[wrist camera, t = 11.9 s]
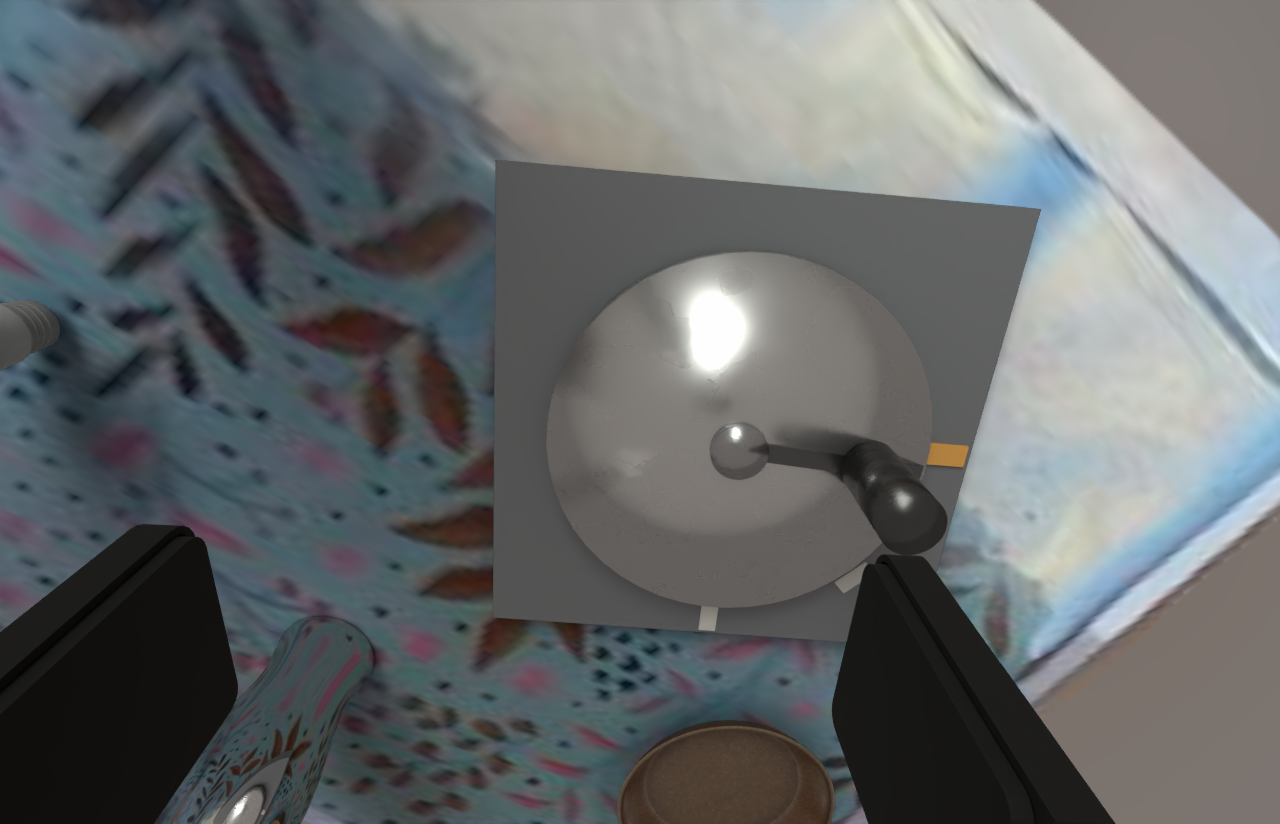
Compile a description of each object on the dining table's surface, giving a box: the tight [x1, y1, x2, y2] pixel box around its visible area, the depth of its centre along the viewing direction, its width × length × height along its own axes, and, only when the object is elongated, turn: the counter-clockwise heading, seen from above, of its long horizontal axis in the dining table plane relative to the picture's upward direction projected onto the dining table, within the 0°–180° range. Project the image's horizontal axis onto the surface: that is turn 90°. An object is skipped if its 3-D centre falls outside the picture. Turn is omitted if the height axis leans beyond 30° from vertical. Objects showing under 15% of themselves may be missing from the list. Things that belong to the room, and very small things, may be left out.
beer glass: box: [154, 616, 374, 824], centre depth 36 cm, size 7×7×15 cm
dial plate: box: [493, 160, 1041, 642], centre depth 36 cm, size 26×26×2 cm
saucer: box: [617, 720, 835, 824], centre depth 45 cm, size 15×15×3 cm
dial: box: [546, 250, 948, 608], centre depth 32 cm, size 20×20×7 cm
